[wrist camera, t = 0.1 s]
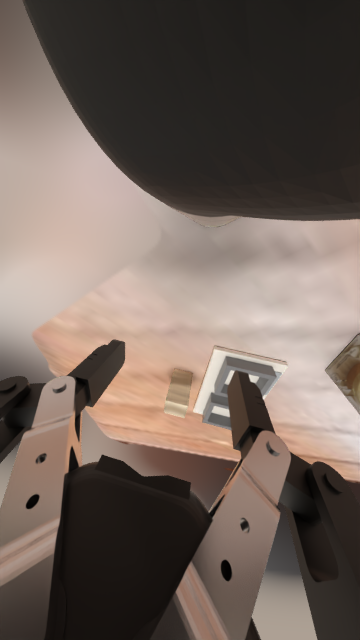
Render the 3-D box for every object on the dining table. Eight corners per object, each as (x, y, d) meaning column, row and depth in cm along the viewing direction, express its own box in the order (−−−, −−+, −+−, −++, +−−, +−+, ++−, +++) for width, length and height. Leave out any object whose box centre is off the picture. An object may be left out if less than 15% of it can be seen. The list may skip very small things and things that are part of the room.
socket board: (214, 345, 31) (214, 358, 28) (286, 362, 30) (294, 376, 27) (193, 408, 43) (192, 421, 40) (244, 421, 42) (246, 436, 39)
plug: (174, 368, 36) (165, 400, 30) (192, 373, 36) (187, 406, 29) (172, 380, 39) (163, 412, 32) (189, 384, 38) (184, 418, 31)
